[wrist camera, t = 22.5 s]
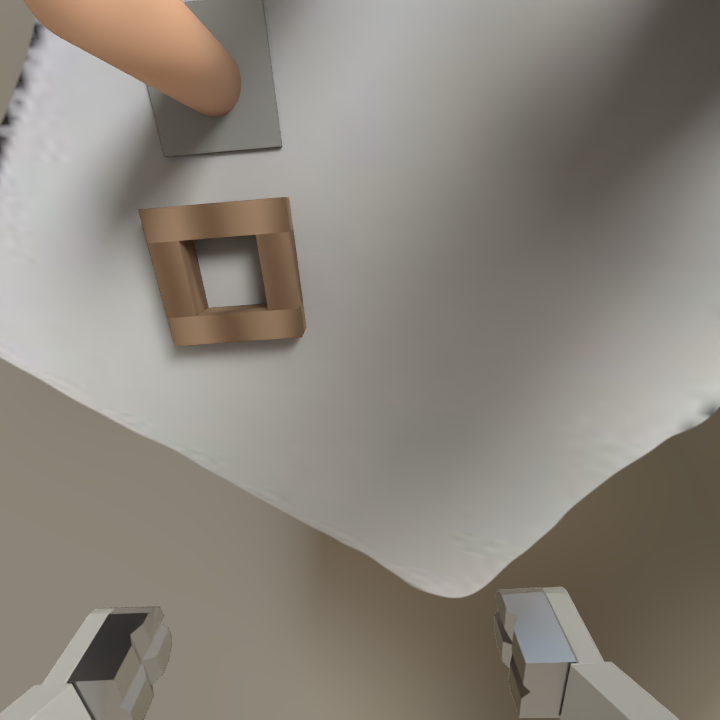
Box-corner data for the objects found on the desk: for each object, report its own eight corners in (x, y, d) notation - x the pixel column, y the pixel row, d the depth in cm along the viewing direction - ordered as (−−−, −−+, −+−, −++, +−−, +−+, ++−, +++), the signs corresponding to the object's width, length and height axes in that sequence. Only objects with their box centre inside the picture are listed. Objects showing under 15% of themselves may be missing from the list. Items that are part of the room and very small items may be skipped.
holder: (289, 197, 35) (282, 197, 32) (306, 327, 39) (301, 337, 37) (155, 208, 35) (138, 209, 33) (188, 335, 40) (174, 346, 37)
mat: (262, -4, 30) (260, -6, 29) (282, 146, 33) (281, 146, 33) (132, 10, 30) (129, 7, 30) (166, 156, 34) (164, 156, 33)
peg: (234, 38, 30) (111, -118, 16) (246, 113, 32) (146, 38, 17) (170, 44, 31) (-12, -104, 16) (186, 119, 32) (37, 50, 18)
